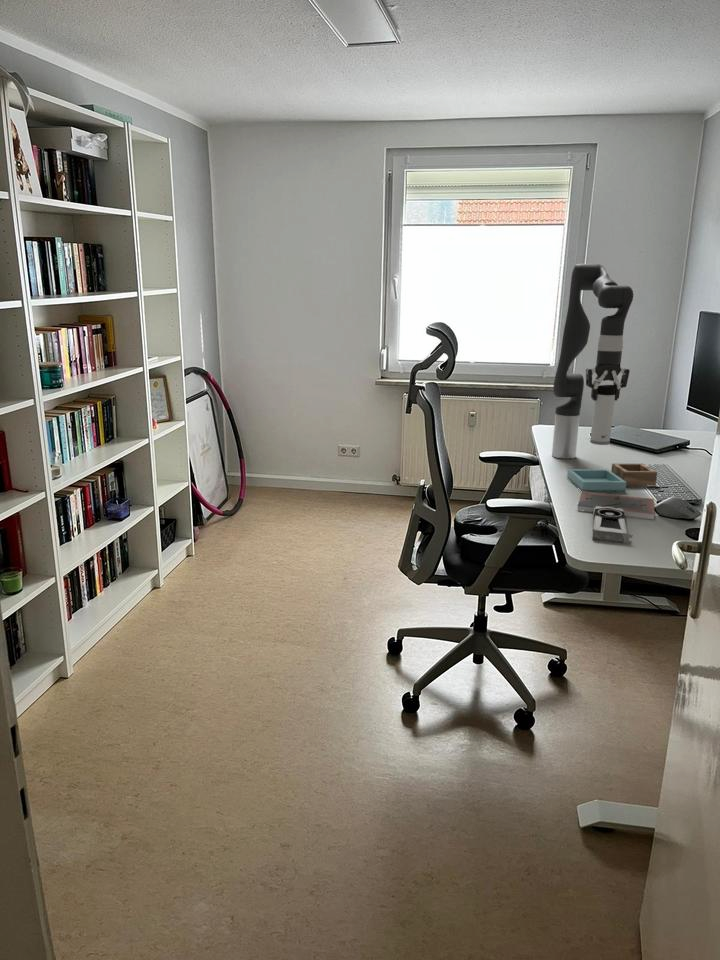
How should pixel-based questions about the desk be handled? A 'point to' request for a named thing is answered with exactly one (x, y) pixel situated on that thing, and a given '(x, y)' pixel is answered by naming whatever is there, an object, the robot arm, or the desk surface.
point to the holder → (635, 474)
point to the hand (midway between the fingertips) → (604, 400)
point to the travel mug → (603, 415)
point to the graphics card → (610, 524)
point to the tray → (596, 481)
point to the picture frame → (618, 504)
